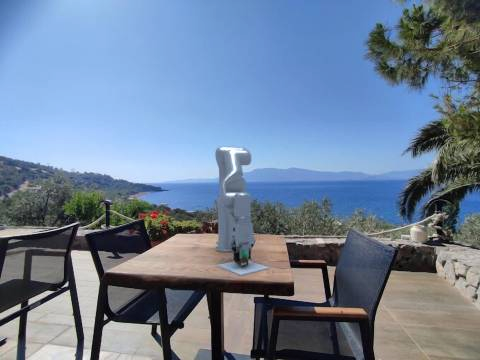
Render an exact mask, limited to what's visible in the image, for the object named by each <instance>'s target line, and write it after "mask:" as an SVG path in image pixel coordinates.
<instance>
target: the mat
mask: <svg viewBox="0 0 480 360" xmlns="http://www.w3.org/2000/svg"><path fill="white" fill-rule="evenodd" d="M216 267H218V268H220V269H223V270H226V271H228V272H229V273H232V274H235V275H238V276H240V277H243V276H247V275H250V274H255V273H258V272H263V271H266V270H269V269H270V267H269V266H266V265H262V264H260V263H256V262H253V261H250V260H248V265H247V266H244V267H240V266H239V265H238V264H236V263H235V262H234V261H229V262H225V263H221V264H220V263H219V264H217V265H216Z"/></svg>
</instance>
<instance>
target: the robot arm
mask: <svg viewBox="0 0 480 360" xmlns="http://www.w3.org/2000/svg"><path fill="white" fill-rule="evenodd" d="M214 155H215V161H216V164H217V166H218V184H219V185H218V189H219V196H218V198H217V199H216V207H217V222H218V223H217V226H218V227H217V228H218V231H217V232H218V234H217V235H218V237H217V239H218V241H216V242H215V244H216V245H217V246H216V247H215V250H216V251H217V252H221V253H222V252H223V253H230V252H233V261H234V260H235V261H239V252H238V251H239V246H242V245H243V244H248V243H249V242H250V245H251V247H250V248H249V260H251V258H252V250H253V247H254V246H255V244H256V243H257V240H256V239H255V233H254V232H255V231H254V227H253V226H254V225H253V222H252V221H251V210H252V209H251V208H252V207H251V206H252V205H251V202H252V199H251V194H250V193H249V192H247V183H246V180H245V179H246V178H244V177H243V176H244V171H243V166H250V165H251V163H252V154H251V151H250V150H249V149H248V148H245V147H244V146H219V147H217V148H216V149H215V154H214ZM232 212H233V215H232V214H231V213H232ZM233 245H234V246H233ZM236 247H237V248H236Z"/></svg>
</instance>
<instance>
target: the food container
mask: <svg viewBox="0 0 480 360" xmlns="http://www.w3.org/2000/svg"><path fill="white" fill-rule="evenodd" d="M233 246H234V245H233ZM250 247H251V245H250V242H249V243H248V244H243V245H242V246H239V251H238V252H239V261H235V260H234V259H233V262H235V263H236V264H238V265H239V266H240V267H244V266H247V265H248V261H250V259H249V248H250ZM236 248H237V247H236Z"/></svg>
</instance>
